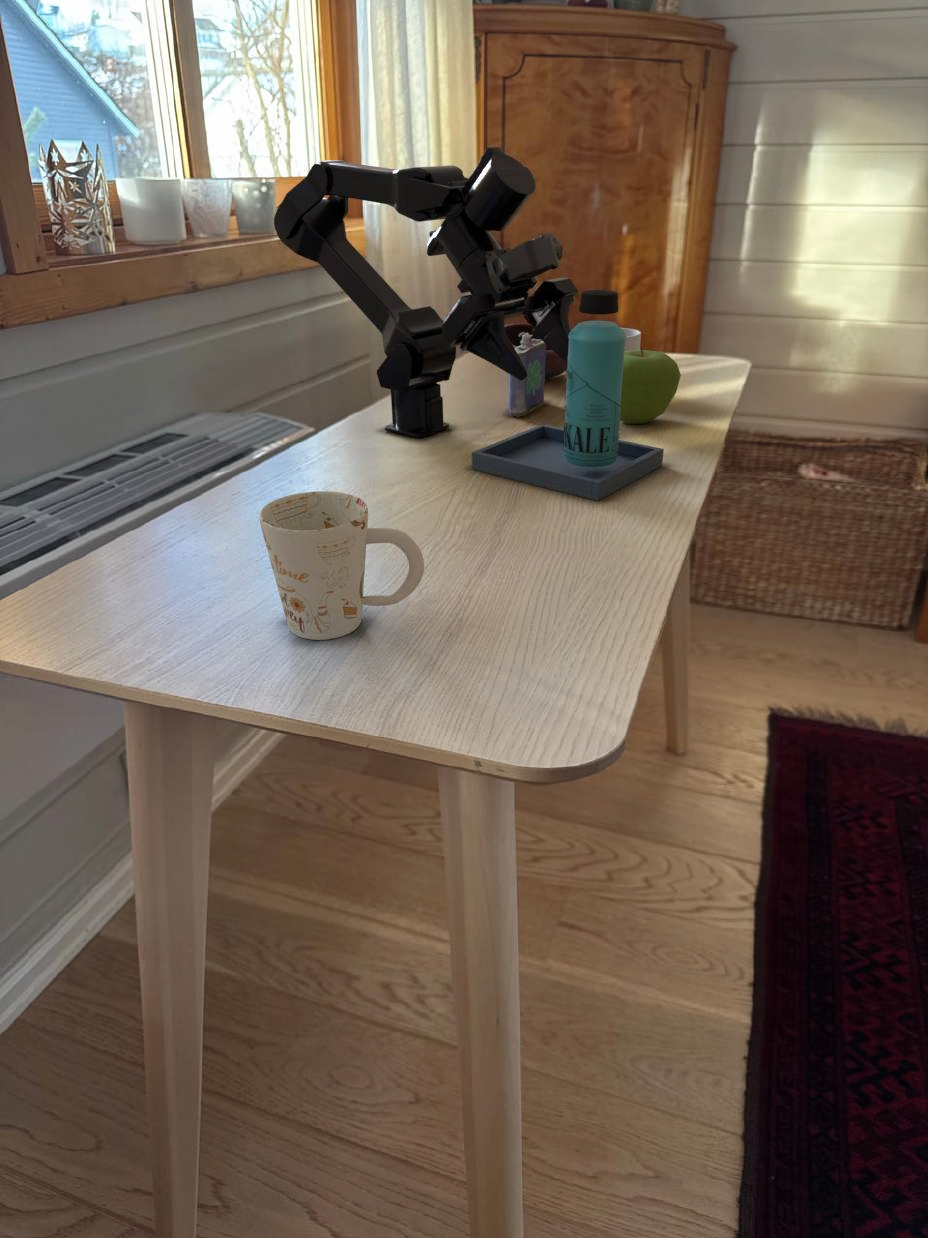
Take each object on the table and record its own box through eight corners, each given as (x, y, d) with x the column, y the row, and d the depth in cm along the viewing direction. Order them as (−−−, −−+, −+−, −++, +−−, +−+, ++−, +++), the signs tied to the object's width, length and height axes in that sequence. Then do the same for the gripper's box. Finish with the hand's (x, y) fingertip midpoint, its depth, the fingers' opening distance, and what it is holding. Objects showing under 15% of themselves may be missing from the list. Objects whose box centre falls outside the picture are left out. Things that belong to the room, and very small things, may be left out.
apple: (667, 435, 118) (675, 358, 113) (589, 428, 121) (593, 353, 116) (682, 413, 127) (689, 341, 122) (609, 407, 130) (613, 337, 125)
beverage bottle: (602, 459, 108) (613, 283, 98) (628, 476, 102) (642, 292, 93) (552, 465, 106) (558, 287, 97) (575, 483, 101) (584, 296, 91)
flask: (521, 418, 126) (522, 339, 121) (502, 415, 127) (502, 338, 122) (547, 402, 133) (549, 327, 128) (529, 400, 134) (531, 326, 129)
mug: (279, 602, 78) (265, 493, 73) (424, 594, 78) (419, 486, 74) (269, 651, 70) (252, 533, 66) (428, 642, 71) (424, 525, 66)
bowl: (583, 372, 149) (585, 322, 145) (559, 391, 138) (561, 338, 135) (493, 365, 154) (493, 317, 151) (464, 383, 144) (463, 331, 140)
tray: (471, 469, 107) (471, 452, 106) (541, 439, 117) (541, 423, 116) (597, 501, 97) (598, 482, 96) (662, 465, 107) (663, 448, 106)
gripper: (458, 214, 92) (539, 339, 91) (569, 203, 104) (641, 313, 103) (408, 288, 101) (481, 402, 99) (516, 269, 113) (582, 371, 111)
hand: (550, 370), depth 103 cm, fingers open, 9 cm apart
